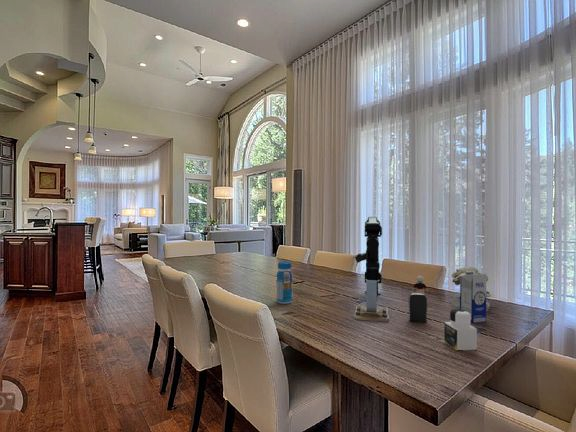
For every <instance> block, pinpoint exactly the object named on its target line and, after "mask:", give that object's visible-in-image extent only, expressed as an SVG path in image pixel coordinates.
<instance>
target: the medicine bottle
mask: <svg viewBox="0 0 576 432" xmlns="http://www.w3.org/2000/svg"><path fill="white" fill-rule="evenodd" d="M449 315H450V316H449V317H450V318H449V321H444V329H443V330H444V334H443V335H444V340H443V341H444V343H445V342H446V343H445V344H446V345H448V346H449V345H450V347H451V348H452V347H453V348H452V349H454V350H455V351H457V350H463V351H477V350H476V349H478V328H476V327H475V326H473V325H471V324H472V323H471V314H470V313H469V312H468V311H466V310H462V309H460V308H454V309H451V310H450V313H449Z"/></svg>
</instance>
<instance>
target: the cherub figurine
mask: <svg viewBox="0 0 576 432" xmlns="http://www.w3.org/2000/svg"><path fill="white" fill-rule="evenodd" d="M455 271H456V272H453V273H451V277H452V283H454V285H455V286H460V276H463V275H466V273H467V272H473V274H483V273H481V272H479V270H478V268H477V267H475V266H472V265H471V266H465V267H459V268H456V269H455ZM488 281H489V277H488V274H486V283H487V282H488ZM492 296H493V295H492V293H491V292H490V291H487V290H486V299H487V298H489V297H492ZM449 302H450V303H451V304H452V305H454V307H456V308H458V309H460V296H457V297H455V298H453V299H450V300H449ZM491 305H492V304H491V302H487V301H486V312H489V308H490V307H491Z"/></svg>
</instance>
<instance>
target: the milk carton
mask: <svg viewBox="0 0 576 432" xmlns="http://www.w3.org/2000/svg"><path fill="white" fill-rule="evenodd" d="M486 275H487V273H482V274H473V272H467V273H466V275H463V276H460V284H459V297H460V308H459V309H462V310H466V311H468V312H469V313H470V314H471V324H477V323H478V324H479V323H486V322H487V311H486V302H487V298H486V291H487V282H486Z"/></svg>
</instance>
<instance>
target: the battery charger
mask: <svg viewBox="0 0 576 432" xmlns="http://www.w3.org/2000/svg"><path fill="white" fill-rule="evenodd" d="M424 294H425V293H424ZM424 294H422V293H416V292H411V293H410V294H408V311H409V315H408V316H409V317H408V319H409V322H413V323H414V322H415V323H416V322H417V323H427V322H428V321H427V318H428V316H427V311H428V298H427V296H426V294H425V295H424Z"/></svg>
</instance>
